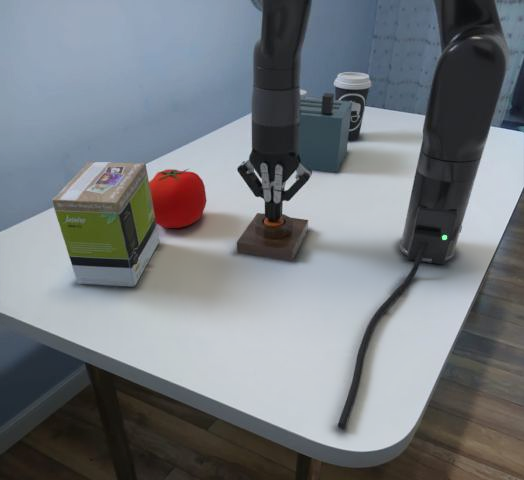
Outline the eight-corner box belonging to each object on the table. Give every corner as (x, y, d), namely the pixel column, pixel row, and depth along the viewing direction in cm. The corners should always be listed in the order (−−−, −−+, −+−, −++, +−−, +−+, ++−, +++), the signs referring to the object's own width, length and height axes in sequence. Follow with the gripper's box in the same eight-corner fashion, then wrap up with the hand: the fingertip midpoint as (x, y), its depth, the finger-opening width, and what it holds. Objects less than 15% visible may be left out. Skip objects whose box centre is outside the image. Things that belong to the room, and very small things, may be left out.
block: (291, 261, 85) (292, 240, 82) (237, 253, 87) (236, 232, 85) (307, 230, 94) (308, 210, 91) (257, 223, 96) (257, 203, 93)
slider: (330, 114, 109) (331, 96, 106) (321, 113, 109) (322, 96, 107) (332, 110, 111) (333, 93, 108) (323, 109, 111) (324, 92, 109)
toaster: (336, 172, 115) (342, 117, 107) (270, 165, 119) (271, 111, 111) (346, 152, 126) (352, 101, 118) (285, 146, 129) (287, 95, 121)
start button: (280, 235, 87) (281, 226, 86) (261, 232, 88) (261, 223, 87) (286, 226, 90) (286, 217, 89) (267, 223, 91) (267, 214, 89)
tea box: (107, 239, 91) (89, 158, 81) (160, 243, 90) (148, 161, 80) (75, 285, 79) (49, 197, 70) (135, 289, 79) (118, 200, 69)
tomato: (221, 221, 96) (218, 168, 90) (167, 243, 90) (159, 188, 83) (187, 203, 103) (182, 152, 96) (134, 222, 96) (124, 169, 89)
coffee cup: (371, 137, 134) (380, 75, 125) (349, 145, 130) (356, 82, 120) (344, 129, 140) (350, 69, 130) (321, 136, 135) (326, 75, 125)
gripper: (227, 119, 75) (231, 224, 87) (311, 128, 72) (304, 235, 84) (243, 106, 81) (245, 206, 92) (322, 113, 78) (314, 216, 89)
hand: (273, 219), depth 88 cm, fingers closed
